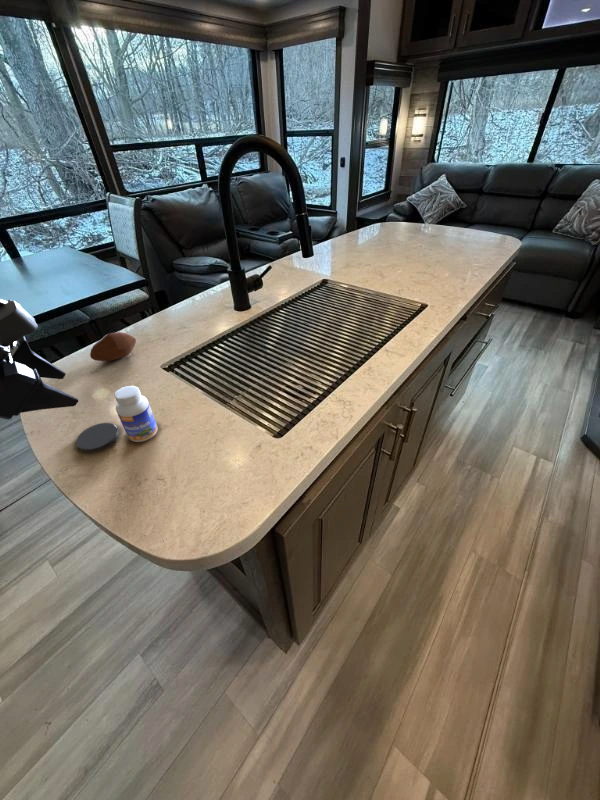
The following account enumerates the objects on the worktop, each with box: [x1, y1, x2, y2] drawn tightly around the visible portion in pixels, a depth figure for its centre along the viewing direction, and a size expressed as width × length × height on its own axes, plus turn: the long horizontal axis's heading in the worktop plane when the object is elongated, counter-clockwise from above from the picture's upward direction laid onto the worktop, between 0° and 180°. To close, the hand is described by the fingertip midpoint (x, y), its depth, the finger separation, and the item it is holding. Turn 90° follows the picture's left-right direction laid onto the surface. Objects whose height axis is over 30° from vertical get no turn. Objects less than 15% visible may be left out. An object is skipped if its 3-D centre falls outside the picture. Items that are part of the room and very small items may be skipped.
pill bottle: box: [114, 385, 158, 443], centre depth 61 cm, size 5×5×10 cm
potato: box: [89, 331, 137, 362], centre depth 84 cm, size 6×12×6 cm, turn 141°
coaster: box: [75, 422, 120, 453], centre depth 62 cm, size 7×7×1 cm
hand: (70, 388), depth 52 cm, fingers open, 9 cm apart
